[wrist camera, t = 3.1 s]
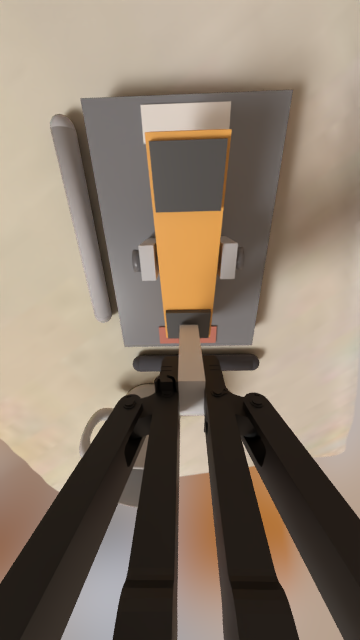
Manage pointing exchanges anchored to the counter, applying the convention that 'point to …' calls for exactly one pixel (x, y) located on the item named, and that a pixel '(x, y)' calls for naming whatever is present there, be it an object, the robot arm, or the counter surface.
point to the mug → (135, 479)
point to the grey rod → (81, 212)
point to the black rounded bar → (226, 361)
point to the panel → (137, 212)
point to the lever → (188, 220)
